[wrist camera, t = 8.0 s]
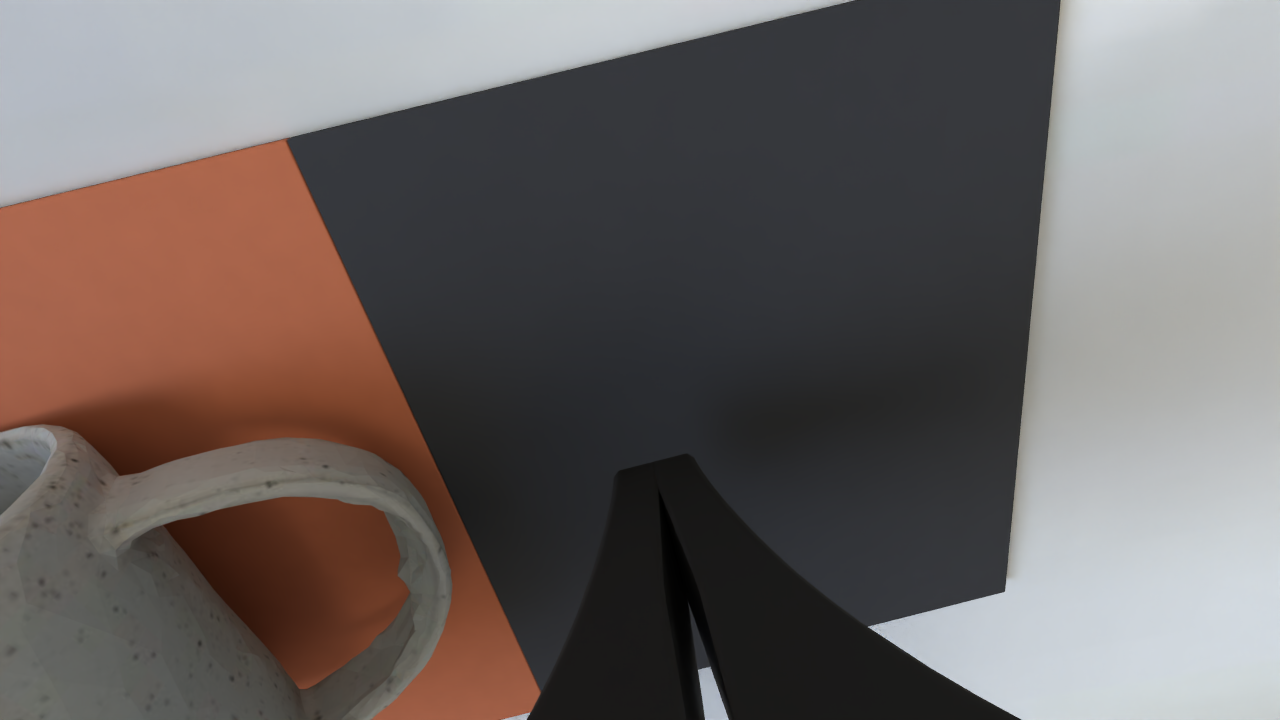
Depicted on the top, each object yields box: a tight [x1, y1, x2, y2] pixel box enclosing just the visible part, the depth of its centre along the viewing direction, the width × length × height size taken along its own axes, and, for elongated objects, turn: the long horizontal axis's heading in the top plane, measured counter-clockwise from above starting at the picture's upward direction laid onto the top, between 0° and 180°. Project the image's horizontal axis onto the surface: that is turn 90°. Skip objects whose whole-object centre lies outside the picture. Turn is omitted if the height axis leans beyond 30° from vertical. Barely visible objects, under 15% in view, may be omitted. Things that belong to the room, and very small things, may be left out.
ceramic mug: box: [0, 424, 452, 720], centre depth 9 cm, size 11×8×8 cm
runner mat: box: [0, 0, 1061, 720], centre depth 12 cm, size 14×24×1 cm, turn 102°
